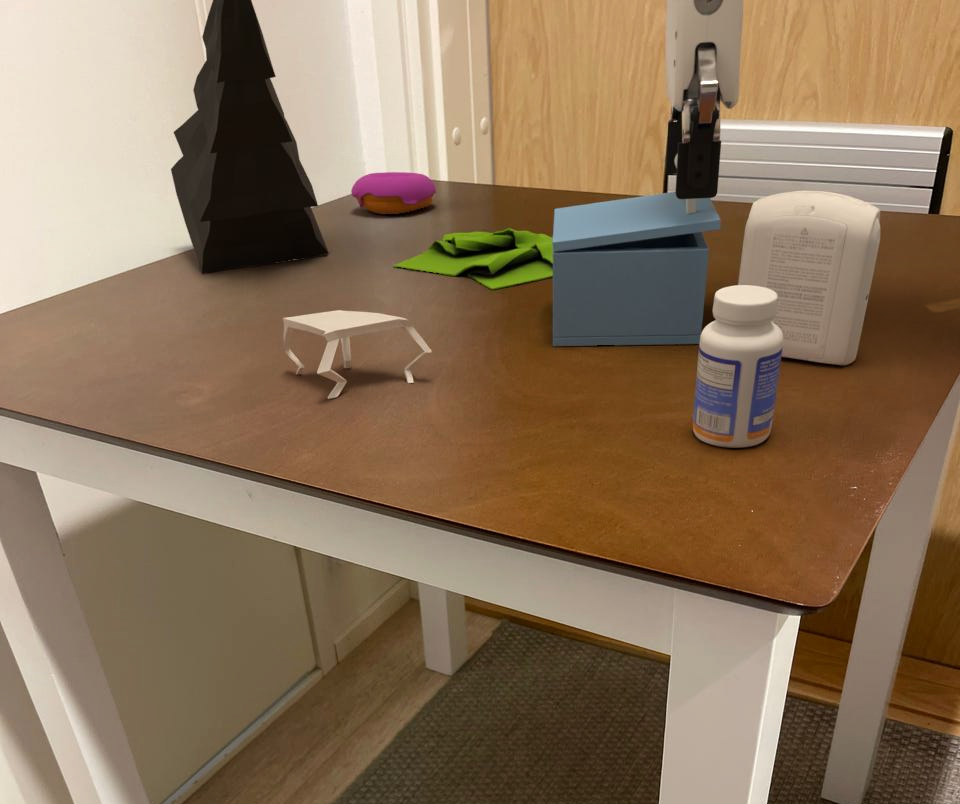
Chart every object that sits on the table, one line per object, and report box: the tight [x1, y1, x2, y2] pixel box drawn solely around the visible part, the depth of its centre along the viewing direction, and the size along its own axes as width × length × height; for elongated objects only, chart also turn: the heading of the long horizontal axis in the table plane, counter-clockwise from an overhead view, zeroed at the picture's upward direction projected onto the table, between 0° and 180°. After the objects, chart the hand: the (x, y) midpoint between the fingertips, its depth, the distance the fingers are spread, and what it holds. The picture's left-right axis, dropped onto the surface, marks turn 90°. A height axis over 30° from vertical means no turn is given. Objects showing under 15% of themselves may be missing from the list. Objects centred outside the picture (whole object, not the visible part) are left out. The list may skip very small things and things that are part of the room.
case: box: [552, 232, 710, 347], centre depth 86 cm, size 13×12×8 cm
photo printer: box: [737, 190, 882, 367], centre depth 76 cm, size 10×4×12 cm, turn 60°
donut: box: [350, 171, 437, 215], centre depth 127 cm, size 10×10×5 cm
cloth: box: [392, 227, 553, 291], centre depth 106 cm, size 20×22×2 cm
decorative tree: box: [170, 0, 330, 275], centre depth 99 cm, size 15×15×35 cm
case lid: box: [552, 153, 722, 252], centre depth 81 cm, size 13×12×5 cm
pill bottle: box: [692, 284, 783, 449], centre depth 65 cm, size 5×5×10 cm
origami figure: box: [282, 309, 433, 400], centre depth 78 cm, size 12×8×5 cm
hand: (689, 184), depth 81 cm, fingers open, 9 cm apart
